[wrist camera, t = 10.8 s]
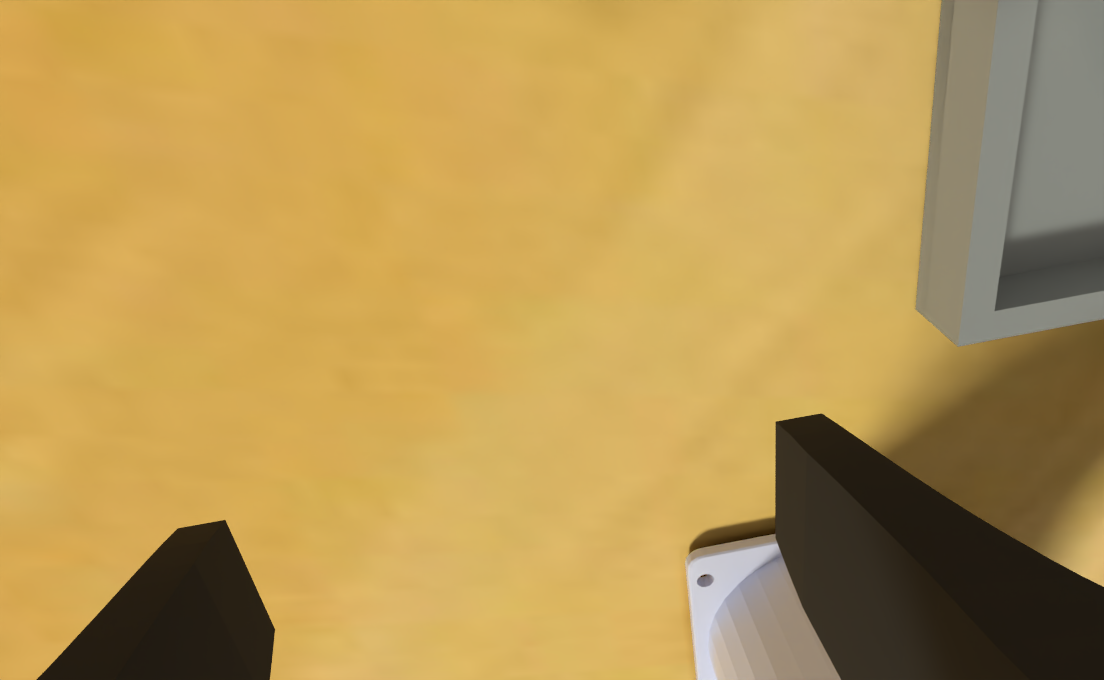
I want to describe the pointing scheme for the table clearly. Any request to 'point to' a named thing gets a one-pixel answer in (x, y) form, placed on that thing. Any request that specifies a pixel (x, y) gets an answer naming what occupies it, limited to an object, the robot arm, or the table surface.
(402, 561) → the table surface
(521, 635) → the table surface
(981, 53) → the tray
